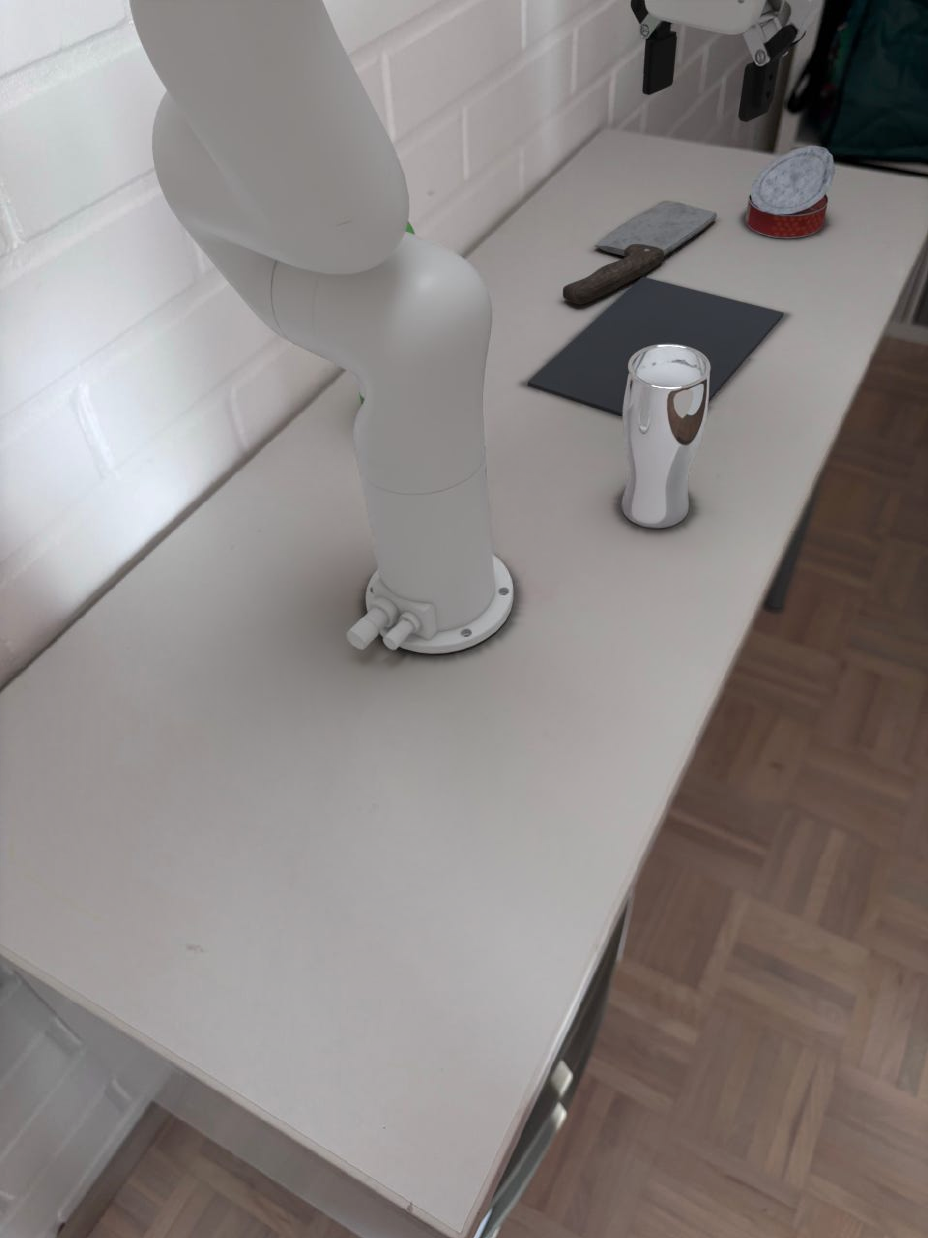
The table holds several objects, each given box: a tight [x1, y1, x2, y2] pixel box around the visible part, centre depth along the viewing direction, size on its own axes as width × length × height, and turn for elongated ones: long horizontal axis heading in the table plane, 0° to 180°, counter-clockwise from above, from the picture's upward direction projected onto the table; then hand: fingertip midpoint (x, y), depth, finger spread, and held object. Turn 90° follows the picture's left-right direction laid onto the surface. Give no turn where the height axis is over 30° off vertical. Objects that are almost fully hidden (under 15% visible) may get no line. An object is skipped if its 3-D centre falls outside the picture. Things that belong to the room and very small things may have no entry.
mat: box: [527, 276, 784, 417], centre depth 105 cm, size 26×18×1 cm
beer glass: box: [621, 344, 711, 529], centre depth 82 cm, size 7×7×15 cm
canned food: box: [744, 145, 836, 240], centre depth 121 cm, size 11×10×10 cm
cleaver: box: [562, 201, 718, 305], centre depth 120 cm, size 29×10×2 cm, turn 140°
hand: (703, 102), depth 77 cm, fingers open, 9 cm apart
